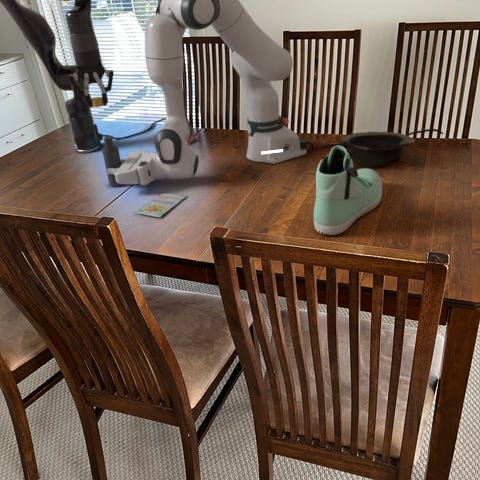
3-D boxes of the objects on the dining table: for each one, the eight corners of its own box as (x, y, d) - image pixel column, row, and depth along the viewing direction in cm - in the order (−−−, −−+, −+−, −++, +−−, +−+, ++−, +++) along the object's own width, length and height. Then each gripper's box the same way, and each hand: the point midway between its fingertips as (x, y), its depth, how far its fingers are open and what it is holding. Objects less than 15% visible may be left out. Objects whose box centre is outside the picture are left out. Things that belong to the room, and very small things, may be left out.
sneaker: (389, 187, 148) (396, 123, 138) (356, 242, 123) (361, 168, 112) (346, 181, 154) (350, 119, 144) (306, 232, 129) (307, 161, 118)
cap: (107, 104, 152) (105, 97, 151) (98, 107, 149) (96, 100, 148) (98, 103, 153) (96, 96, 152) (89, 106, 151) (88, 99, 150)
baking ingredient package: (135, 211, 145) (163, 192, 156) (135, 213, 145) (163, 193, 156) (159, 216, 141) (186, 195, 153) (159, 217, 141) (186, 197, 153)
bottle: (125, 185, 164) (116, 138, 155) (110, 188, 163) (100, 141, 154) (124, 179, 168) (115, 133, 160) (108, 182, 167) (99, 136, 158)
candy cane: (162, 149, 191) (161, 146, 190) (186, 137, 201) (185, 134, 201) (173, 152, 188) (172, 148, 187) (197, 139, 198) (197, 136, 197)
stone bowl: (372, 178, 154) (373, 150, 150) (326, 159, 175) (325, 135, 170) (429, 159, 163) (431, 132, 159) (379, 144, 183) (379, 120, 179)
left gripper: (59, 53, 138) (74, 112, 147) (109, 47, 140) (121, 106, 149) (62, 48, 144) (76, 105, 153) (110, 43, 146) (121, 100, 155)
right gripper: (157, 146, 168) (119, 147, 170) (140, 169, 151) (98, 170, 152) (159, 162, 171) (122, 163, 173) (144, 187, 154) (102, 188, 156)
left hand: (98, 105), depth 151 cm, fingers closed on cap, 3 cm apart
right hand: (111, 166), depth 162 cm, fingers closed on bottle, 5 cm apart
